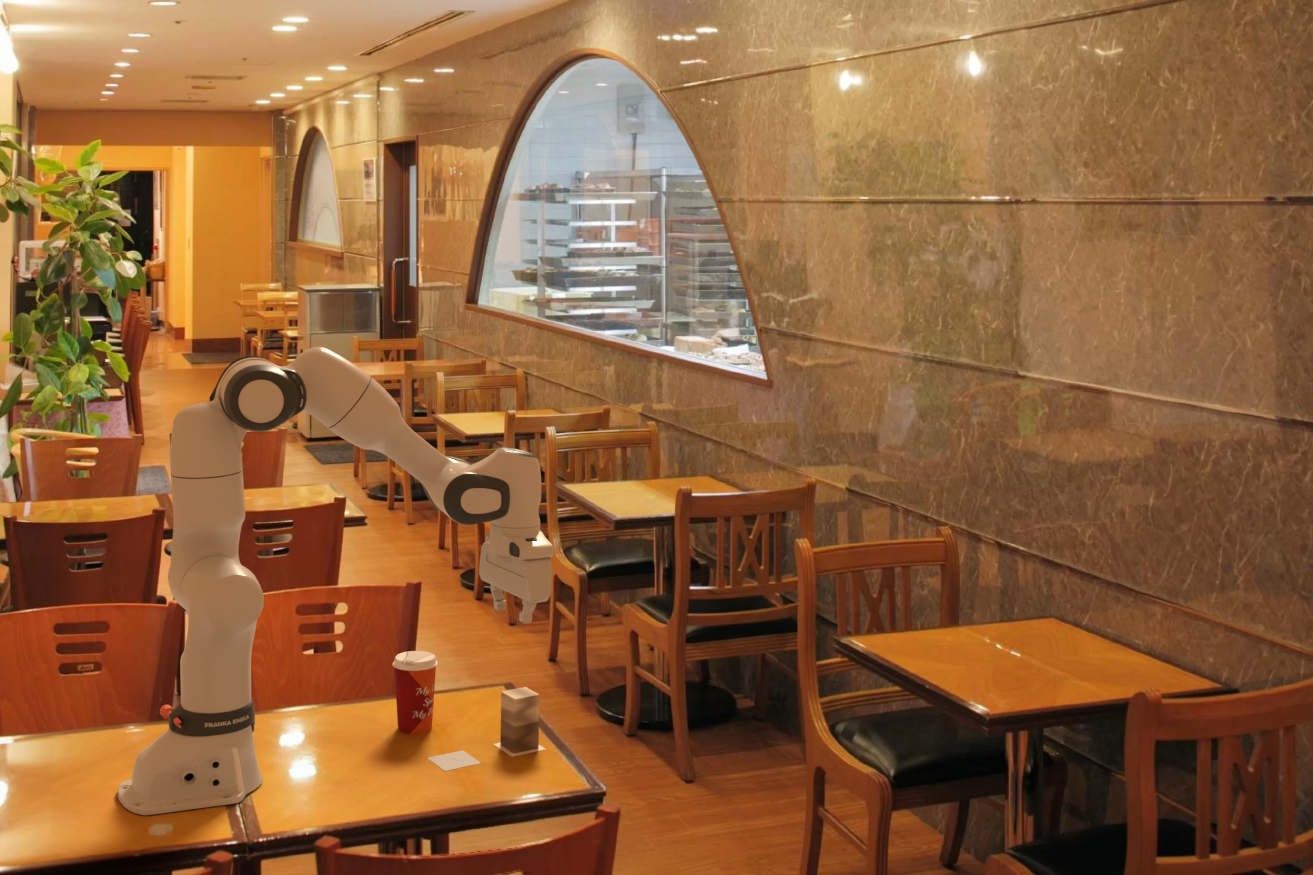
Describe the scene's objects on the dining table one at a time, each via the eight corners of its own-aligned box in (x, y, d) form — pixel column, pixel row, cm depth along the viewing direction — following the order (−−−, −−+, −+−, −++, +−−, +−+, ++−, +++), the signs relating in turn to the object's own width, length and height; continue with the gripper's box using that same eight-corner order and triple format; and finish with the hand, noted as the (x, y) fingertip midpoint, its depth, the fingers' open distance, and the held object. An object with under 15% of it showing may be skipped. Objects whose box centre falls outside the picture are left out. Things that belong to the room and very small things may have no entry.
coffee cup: (427, 744, 245) (428, 664, 243) (385, 739, 246) (385, 660, 244) (444, 728, 253) (444, 651, 251) (402, 724, 254) (403, 647, 252)
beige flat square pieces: (451, 785, 226) (451, 778, 226) (415, 758, 238) (415, 751, 238) (563, 760, 239) (563, 753, 239) (524, 735, 250) (524, 729, 250)
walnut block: (513, 753, 238) (514, 726, 238) (500, 744, 242) (500, 718, 242) (538, 748, 241) (538, 721, 240) (524, 739, 245) (525, 713, 244)
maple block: (514, 726, 238) (514, 699, 237) (500, 718, 242) (501, 691, 241) (538, 721, 240) (539, 694, 240) (525, 713, 244) (525, 686, 244)
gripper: (471, 530, 243) (469, 604, 245) (527, 552, 226) (524, 632, 228) (502, 527, 247) (500, 600, 248) (559, 549, 230) (556, 627, 232)
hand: (512, 616), depth 238 cm, fingers open, 8 cm apart
